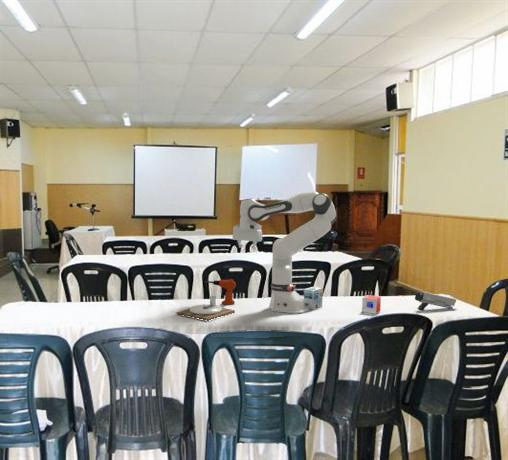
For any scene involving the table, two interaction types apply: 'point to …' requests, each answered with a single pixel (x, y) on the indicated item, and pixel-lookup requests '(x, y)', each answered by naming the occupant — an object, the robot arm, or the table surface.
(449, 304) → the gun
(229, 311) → the cardboard mat
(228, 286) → the toy drill
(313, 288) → the light bulb box
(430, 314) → the table surface
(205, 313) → the dial
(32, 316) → the table surface
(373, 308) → the puzzle cube
